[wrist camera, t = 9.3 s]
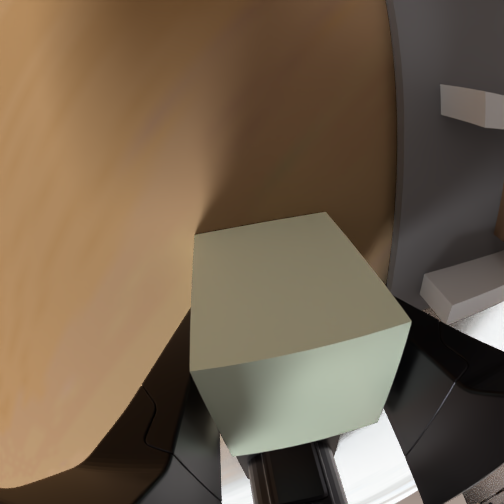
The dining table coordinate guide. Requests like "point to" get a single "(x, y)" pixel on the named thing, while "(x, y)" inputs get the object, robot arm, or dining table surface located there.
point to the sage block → (290, 333)
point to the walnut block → (500, 219)
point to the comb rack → (448, 155)
